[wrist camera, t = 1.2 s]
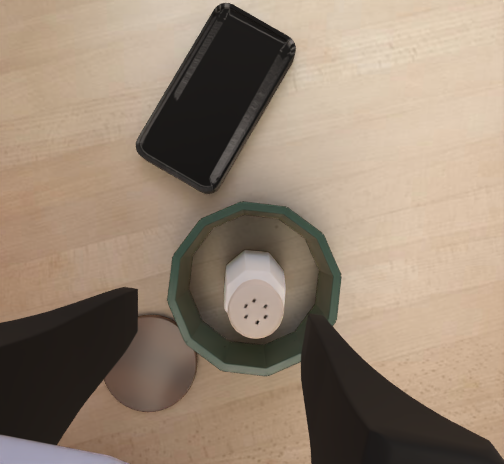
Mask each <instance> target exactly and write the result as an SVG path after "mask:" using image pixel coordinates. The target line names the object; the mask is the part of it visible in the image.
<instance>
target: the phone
mask: <svg viewBox="0 0 504 464" xmlns="http://www.w3.org/2000/svg"><path fill="white" fill-rule="evenodd" d="M295 51H296V46H295V43H294V41H293V40H292V39H291V38H290V37H289V36H287V35H285V34H284V33H282V32H280V31H278V30H277V29H275V28H273V27H271V26H270V25H268V24H266V23H264V22H263V21H261V20H259V19H257V18H256V17H254V16H252V15H250V14H249V13H247V12H245V11H243V10H242V9H240V8H238V7H236V6H235V5H233V4H230V3H222V4H220V5H218V6H217V7H216V8H215V9H214V11H213V12H212V14H211V16H210V17H209V19H208V21H207V22H206V24H205V26H204V27H203V29H202V31H201V33H200V34H199V36H198V38H197V39H196V41H195V43H194V44H193V46H192V48H191V49H190V51H189V53H188V54H187V56H186V58H185V59H184V61H183V63H182V64H181V66H180V68H179V70H178V71H177V73H176V75H175V76H174V78H173V80H172V81H171V83H170V85H169V86H168V88H167V90H166V91H165V93H164V95H163V96H162V98H161V100H160V101H159V103H158V105H157V107H156V108H155V110H154V112H153V113H152V115H151V117H150V118H149V120H148V122H147V123H146V125H145V127H144V128H143V130H142V132H141V133H140V135H139V137H138V139H137V141H136V150H137V152H138V154H139V155H140V156H142V157H143V158H144V159H145V160H147V161H148V162H150V163H152V164H154V165H155V166H157V167H159V168H160V169H162V170H164V171H166V172H167V173H169V174H171V175H173V176H174V177H176V178H178V179H179V180H181V181H183V182H185V183H186V184H188V185H190V186H192V187H193V188H195V189H197V190H198V191H200V192H202V193H205V194H210V193H214V192H215V191H217V190H218V188H219V187H220V186H221V184H222V182H223V180H224V179H225V177H226V175H227V174H228V172H229V170H230V168H231V167H232V165H233V163H234V162H235V160H236V158H237V156H238V155H239V153H240V151H241V150H242V148H243V146H244V144H245V143H246V141H247V139H248V138H249V136H250V134H251V132H252V131H253V129H254V127H255V126H256V124H257V122H258V121H259V119H260V117H261V115H262V114H263V112H264V110H265V109H266V107H267V105H268V103H269V102H270V100H271V98H272V97H273V95H274V93H275V91H276V90H277V88H278V86H279V85H280V83H281V81H282V79H283V78H284V76H285V74H286V73H287V71H288V69H289V68H290V66H291V64H292V62H293V59H294V55H295Z"/></svg>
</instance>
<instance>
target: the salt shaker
mask: <svg viewBox="0 0 504 464" xmlns="http://www.w3.org/2000/svg"><path fill="white" fill-rule="evenodd" d="M285 292H286V286H285V276H284V270H283V269H282V268H281V266H280V265H279V264H278V263H277V262H276V260H275V259H274V258H273V257H272V256H271V254H270V253H269V252H263V251H253V250H244V251H243V252H241V253H240V254H239V255H238V256H237V257H235V258H234V259H233V260H232V261H231V262H229V263H228V264H227V265H226V272H225V283H224V308H225V310H226V312H227V313H228V318H229V320H230V323H231V325H232V326H233V328H234V329H235V330H236V331H237V332H238V333H240V334H241V335H243V336H245V337H248V338H254V339H258V338H264V337H266V336H268V335H271V334H272V333H273V332H274V331H275V330H277V328H278V327H279V325H280V324H281V321H282V319H283V314H284V304H285Z"/></svg>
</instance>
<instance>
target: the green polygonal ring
mask: <svg viewBox="0 0 504 464" xmlns="http://www.w3.org/2000/svg"><path fill="white" fill-rule="evenodd" d="M243 215H251V216H259V217H268V218H277V219H279V220H281V221H282V222H283V223H285V224H286V225H287V226H289V227H290V228H291V229H293V230H294V231H295V232H297V233H298V234H299V235H301V236H302V237H303V238H305V239H306V242H307V244H308V246H309V249H310V251H311V253H312V256H313V258H314V260H315V262H316V265H317V267H318V269H319V273H318V282H317V291H316V300H315V305H314V306H313V308H312V309H311V310H310V312H309V313H310V314H317V315H323V316H324V317H325V318H326V319H327V320H328V322H329V323H330V324H331V325H332V326H333V325H334V324H335V322H336V321H335V320H337V313H338V304H339V294H340V285H341V276H340V275H341V273H340V271H339V268H338V266H337V264H336V261H335V259H334V257H333V255H332V252H331V250H330V248H329V245H328V243H327V241H326V239H325V236H324V234H322V232H320V231H319V230H318V229H316V228H315V227H314V226H312V225H311V224H310V223H308V222H307V221H306V220H304V219H303V218H302V217H300V216H299V215H297V214H296V213H295V212H293V211H292V210H291V209H289V208H288V207H287V208H286V206H278V205H269V204H261V203H252V202H244V201H243V202H239V203H237V204H234V205H232V206H230V207H227V208H225V209H223V210H220V211H218V212H216V213H213V214H211V215H209V216H206V217H204V218H202V219H201V220H199V221H198V223H197V224H196V225H195V227H194V228H193V229H192V231H191V232H190V233H189V235H188V236H187V237H186V239H185V240H184V241H183V243H182V244H181V245H180V247H179V248H178V249H177V251H176V252H175V253H174V256H173V257H172V265H171V273H170V281H169V289H168V298H167V301H168V304H169V307H170V309H171V311H172V314H173V316H174V319H175V321H176V323H177V326H178V328H179V330H180V333H181V335H182V337H183V340H184V342H185V343H186V345H188V346H189V347H190V348H192V349H193V350H194V351H196V352H197V353H198V354H200V355H201V356H202V357H204V358H205V359H206V360H208V361H209V362H210V363H211V364H213V365H214V366H215V367H217V368H218V369H219V370H222V371H225V372H233V373H242V374H250V375H259V376H267V375H268V376H269V375H272V374H274V373H276V372H279V371H281V370H283V369H285V368H288V367H290V366H292V365H295V364H297V363H299V362H301V352H302V346H303V340H304V334H305V328H306V322H307V316H308V314H307V316H306V317H305V318H304V320H303V321H302V323H301V324H300V325H299V327H298V328H297V329H296V331H295V332H293V333H290V334H288V335H286V336H284V337H281V338H279V339H277V340H274V341H272V342H270V343H268V344H265V345H258V344H249V343H241V342H232V341H229V340H227V339H226V338H225V337H223V336H222V335H221V334H219V333H218V332H217V331H215V330H214V329H213V328H211V327H210V326H209V325H207V324H206V323H205V322H203V321H202V319H201V317H200V314H199V312H198V310H197V307H196V305H195V303H194V300H193V298H192V296H191V293H190V291H189V284H190V276H191V268H192V259H193V255H194V253H195V252H196V251H197V249H198V248H199V247H200V245H201V244H202V243H203V241H204V240H205V239H206V237H207V236H208V235H209V233H210V232H211V231H212V229H213V228H215V227H217V226H220V225H222V224H224V223H226V222H229V221H231V220H233V219H236V218H238V217H240V216H243Z"/></svg>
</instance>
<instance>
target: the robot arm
mask: <svg viewBox="0 0 504 464" xmlns="http://www.w3.org/2000/svg"><path fill="white" fill-rule="evenodd" d="M137 332H138V289H135V288H128V287H122V288H118V289H114V290H111V291H108V292H105V293H102V294H99V295H96V296H94V297H91V298H88V299H85V300H82V301H79V302H76V303H73V304H70V305H67V306H64V307H61V308H58V309H55V310H51V311H48V312H45V313H41V314H37V315H34V316H30V317H25V318H21V319H17V320H13V321H8V322H2V323H0V464H129V463H127V462H124V461H122V460H119V459H117V458H114V457H112V456H109V455H104V454H99V453H94V452H88V451H83V450H78V449H73V448H67V447H62V446H57V444H58V442H59V441H60V439H61V438H62V436H63V434H64V433H65V431H66V430H67V428H68V427H69V425H70V424H71V422H72V421H73V419H74V418H75V416H76V415H77V413H78V412H79V410H80V409H81V407H82V406H83V405H84V403H85V402H86V401H87V399H88V398H89V397H90V396H91V394H92V393H93V392H94V391H95V389H96V388H97V387H98V386H99V384H100V383H101V382H102V381H103V379H104V378H105V377H106V376H107V375H108V373H109V372H110V371H111V370H112V368H113V367H114V366H115V365H116V363H117V362H118V361H119V360H120V358H121V357H122V356H123V354H124V353H125V352H126V350H127V349H128V347H129V346H130V344H131V342H132V341H133V339H134V337H135V335H136V334H137ZM301 381H302V389H303V396H304V403H305V410H306V417H307V423H308V430H309V437H310V447H311V463H312V464H504V460H503V458H502V457H501V456H500V454H499V453H498V451H497V450H496V449H495V447H494V446H493V445H492V444H491V442H490V441H489V440H487V439H485V438H483V437H481V436H479V435H477V434H475V433H473V432H471V431H469V430H467V429H465V428H463V427H462V426H460V425H458V424H456V423H454V422H452V421H450V420H448V419H446V418H445V417H443V416H441V415H439V414H438V413H436V412H434V411H433V410H431V409H429V408H428V407H426V406H424V405H423V404H421V403H420V402H418V401H416V400H415V399H413V398H412V397H410V396H409V395H408V394H406V393H405V392H403V391H402V390H400V389H399V388H398V387H396V386H395V385H393V384H392V383H391V382H389V381H388V380H387V379H386V378H384V377H383V376H382V375H381V374H379V373H378V372H377V371H376V370H375V369H373V368H372V367H371V366H370V365H369V364H368V363H367V362H366V361H364V360H363V359H362V358H361V357H360V356H359V355H358V354H357V353H356V352H355V351H354V350H353V349H352V348H351V347H350V346H349V345H348V343H347V342H346V341H345V340H344V339H343V338H342V337H341V336H340V335H339V333H338V332H337V331H336V330H335V329H334V327H333V326H332V325H331V324H330V323H329V322H328V320H327V319H326V318H325V317H324V316H323V315H317V314H310V313H308V316H307V322H306V328H305V334H304V340H303V346H302V352H301Z"/></svg>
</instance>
